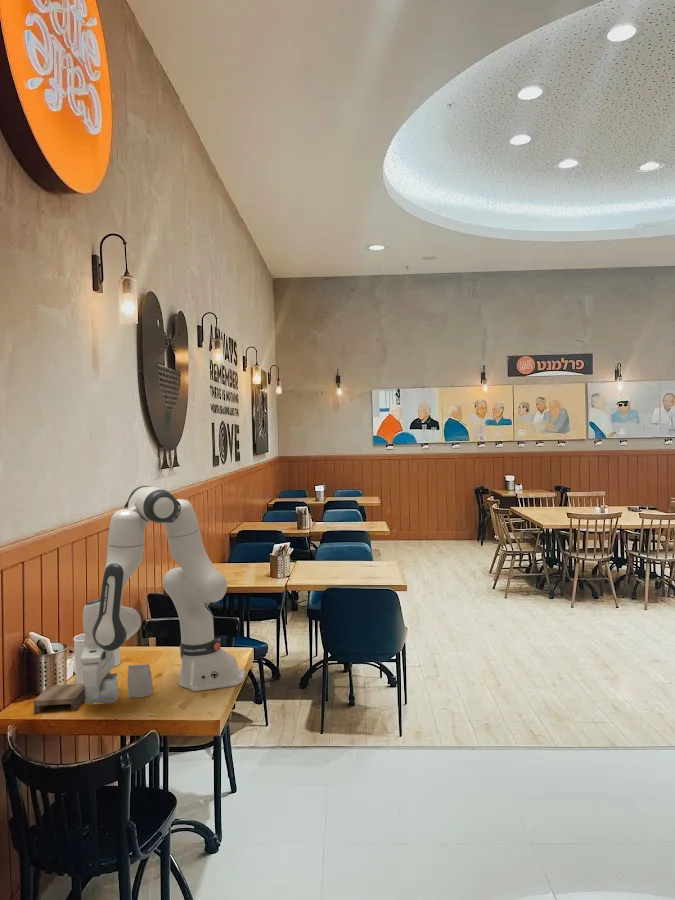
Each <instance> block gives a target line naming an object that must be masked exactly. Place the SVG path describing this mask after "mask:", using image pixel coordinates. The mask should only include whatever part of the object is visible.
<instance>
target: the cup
mask: <svg viewBox="0 0 675 900" xmlns="http://www.w3.org/2000/svg"><path fill="white" fill-rule="evenodd" d="M84 638H85V633H80V634H77V635H75V636H74V637H73V652H74V665H75V667H74V670H75V681H76V683H75V684H84V681H83V672H82V667H83V664H81V662H80V658H81V655H82V653H83V650H84Z"/></svg>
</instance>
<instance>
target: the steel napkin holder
mask: <svg viewBox="0 0 675 900" xmlns="http://www.w3.org/2000/svg"><path fill="white" fill-rule="evenodd" d="M118 676H119V675H118V672H116V673H110V674H107V675H106V677H105V678H104V679H103V680H102V681H101V683H100V684H99V690H100V696H99V697H98V698H94V697H93V692H92V690H91V688H85V698H86V700H85V705H86V704H93V705H95V704H94V703H108V704H115V703H116V701H117V700H118V699H119V686H118V684H119V683H118V682H119V681H118ZM117 698H118V699H117ZM116 699H117V700H116ZM114 702H115V703H114Z"/></svg>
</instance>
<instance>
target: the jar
mask: <svg viewBox="0 0 675 900" xmlns="http://www.w3.org/2000/svg"><path fill="white" fill-rule="evenodd" d="M120 653H121V651H120V647H119V648H118V649H116V650H114V655H115V665H114V667H113V668H115V667H117V666H119V664H120V665H121V655H120Z"/></svg>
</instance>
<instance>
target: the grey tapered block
mask: <svg viewBox="0 0 675 900" xmlns="http://www.w3.org/2000/svg"><path fill="white" fill-rule="evenodd" d="M127 667H128V670H127V693H128V698H129V699H131V697H135V698H148V697H147V696H149V697H151V695H152V694H153V681H152V680H153V679H152V678H153V677H152V672H151V667H150V664H132V665H131V664H130V665H128V666H127ZM150 694H151V695H150ZM144 696H145V697H144Z"/></svg>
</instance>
